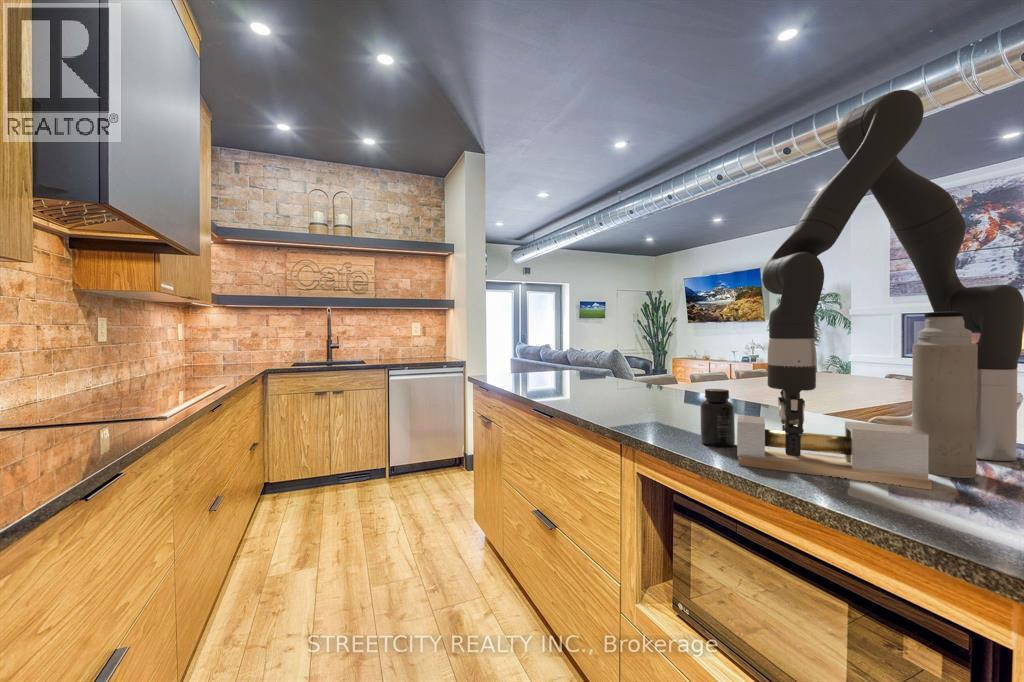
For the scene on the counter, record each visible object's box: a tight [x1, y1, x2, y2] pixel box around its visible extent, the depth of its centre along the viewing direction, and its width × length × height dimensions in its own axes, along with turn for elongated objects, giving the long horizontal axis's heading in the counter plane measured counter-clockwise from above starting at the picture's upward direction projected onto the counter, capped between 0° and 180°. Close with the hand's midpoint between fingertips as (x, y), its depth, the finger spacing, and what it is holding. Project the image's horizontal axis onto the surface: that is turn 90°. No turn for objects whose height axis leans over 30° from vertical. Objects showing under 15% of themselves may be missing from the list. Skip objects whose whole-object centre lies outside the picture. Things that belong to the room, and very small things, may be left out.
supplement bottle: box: [699, 388, 736, 448], centre depth 94 cm, size 7×7×12 cm
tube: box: [765, 428, 851, 456], centre depth 78 cm, size 16×3×3 cm, turn 61°
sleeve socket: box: [736, 414, 929, 479], centre depth 77 cm, size 7×27×7 cm, turn 61°
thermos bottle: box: [911, 311, 978, 479], centre depth 75 cm, size 8×8×28 cm
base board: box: [738, 448, 933, 490], centre depth 77 cm, size 10×26×1 cm, turn 61°
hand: (790, 449), depth 79 cm, fingers open, 8 cm apart
